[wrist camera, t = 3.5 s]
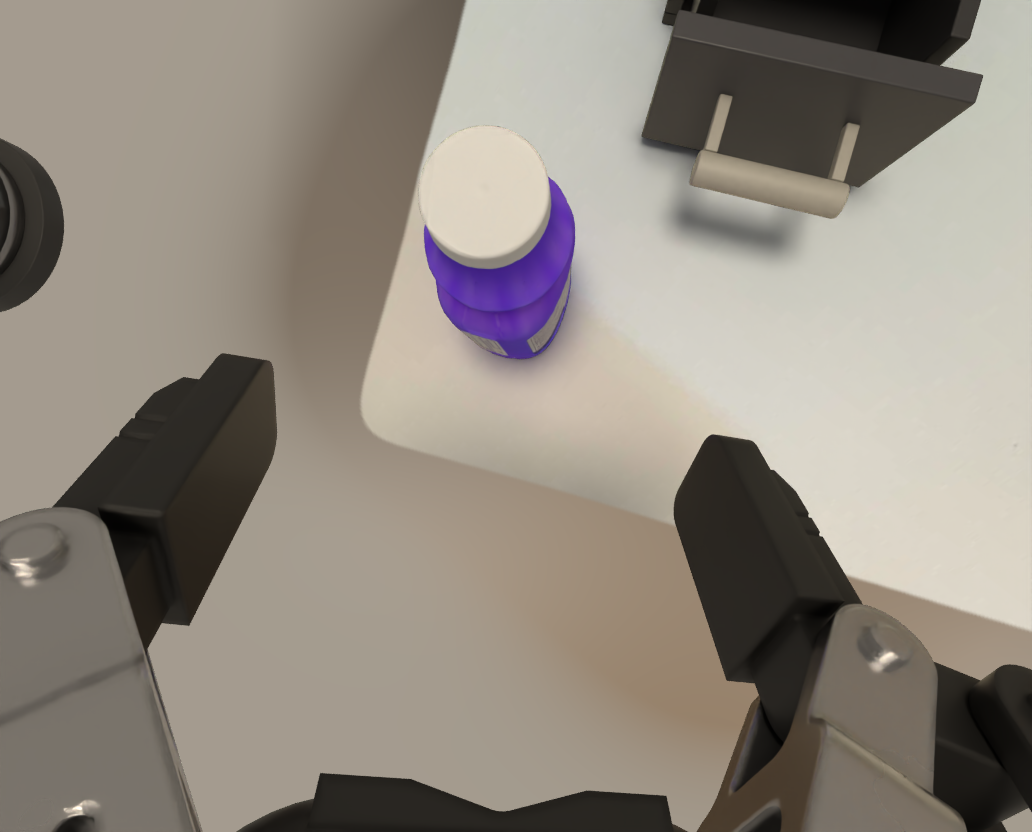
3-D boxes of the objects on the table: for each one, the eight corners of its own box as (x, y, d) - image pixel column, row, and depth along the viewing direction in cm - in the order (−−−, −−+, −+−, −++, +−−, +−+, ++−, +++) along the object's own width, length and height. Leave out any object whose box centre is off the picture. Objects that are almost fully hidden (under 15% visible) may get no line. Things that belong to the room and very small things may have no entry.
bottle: (493, 230, 34) (425, 51, 17) (582, 256, 34) (607, 99, 16) (459, 345, 34) (357, 284, 17) (547, 371, 34) (535, 337, 17)
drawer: (837, 262, 32) (944, 207, 23) (621, 209, 33) (643, 136, 24) (929, -53, 31) (1077, -236, 22) (705, -98, 32) (761, -292, 23)
